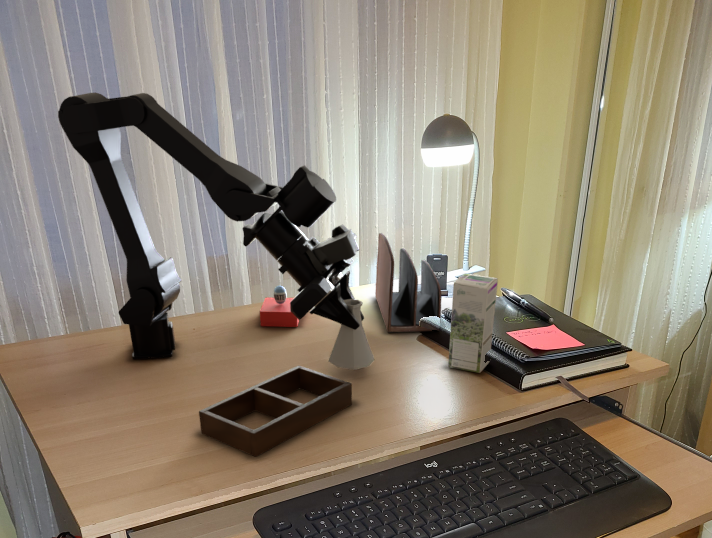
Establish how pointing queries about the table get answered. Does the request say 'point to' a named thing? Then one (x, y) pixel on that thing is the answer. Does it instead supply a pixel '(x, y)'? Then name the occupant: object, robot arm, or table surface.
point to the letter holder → (405, 291)
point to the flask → (352, 343)
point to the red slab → (278, 310)
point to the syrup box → (472, 321)
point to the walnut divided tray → (275, 409)
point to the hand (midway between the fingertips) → (360, 324)
